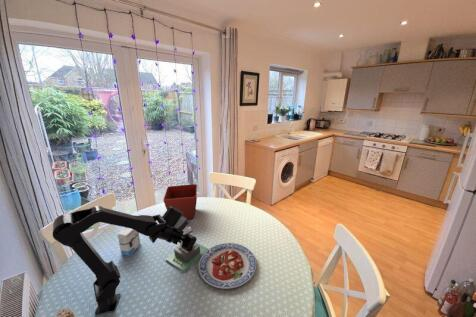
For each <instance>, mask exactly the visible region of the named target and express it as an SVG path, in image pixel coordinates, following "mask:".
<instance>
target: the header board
mask: <svg viewBox="0 0 476 317" xmlns="http://www.w3.org/2000/svg"><path fill="white" fill-rule="evenodd" d="M208 249H209V248H207V247H205V246H203V245H202V244H200V243H199V242H197V241H196V242H195V244H194V249H192V251H191V252H189V253H187V254H186V253H184V252H182V251H181V250H180V245H178V246H177V247H176V248H174V250H173V253H172V254H171V255H169V256H168V257H167V258H166V259H165V261H166V262H167V263H168V264H170V265H171V266H173V267H174V268H176V269H178V270H179V271H180V272H181V273H185V272H186V271H187V270H189V268H191V266H193V265H194V264H195V263H196V262H197V261H198V260H200V259H201V257H202V255H203V254H204V253H205V252H206V251H207V250H208Z"/></svg>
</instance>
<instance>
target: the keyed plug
mask: <svg viewBox="0 0 476 317" xmlns="http://www.w3.org/2000/svg"><path fill="white" fill-rule="evenodd" d="M182 231H184V233H183V235H185V234H186V235H187V233H188V234H190V235H192V236H194V232H193V229H192V227H191V226H186V227H185V228H184V230H182ZM182 238H183V237H182ZM181 245H182V242H181V243H179V246H180V250H181V251H182V252H184V253H186V254H187V253H189V252H188V251H186V250H184V249H182V247H181ZM192 249H194V246H193V248H192Z"/></svg>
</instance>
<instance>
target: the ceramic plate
mask: <svg viewBox="0 0 476 317" xmlns="http://www.w3.org/2000/svg"><path fill="white" fill-rule="evenodd" d="M256 268H257V260H256V257H255V255H254V253H253V252H252V251H251V250H250V249H249V248H248V247H246V246H244V245H243V244H239V243H234V242H224V243H219V244H216V245H213V246H212V247H209V248H208V250H207V251H206V252H205V253H204V254H203V255H202V257H200V258H199V262H198V272H199V275H200V277H201V279H203V281H204V282H205V283H207V284H208V285H210V286H211V287H214V288H218V289H224V290H225V289H234V288H238V287H240V286H243V285H245V284H246V283H248V281H249V280H251V279H252V277H253V276H254V274H255V273H256Z"/></svg>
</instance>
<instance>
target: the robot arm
mask: <svg viewBox="0 0 476 317" xmlns="http://www.w3.org/2000/svg"><path fill="white" fill-rule="evenodd" d="M182 215H183V213H182V212H181V211H180V210H178V209H177V208H175V207H171V206H169V208H168V209H166V211H165V212H164V214H163V215H161V214H156V215H155V214H154V215H145V214H140V215H133V214H130V213H125V212H122V211H117V210H115V209H114V210H113V209H110V208H105V207H103V206H101V205H95V206H92V207H89V208H85V209H79V210H76V211H73V212H71V213H65V214H62V215H59V216H57V217H56V218H55V219H54V221H53V223H52V238H53V239H54V240H55V241H57V242H58V243H60V244H61V245H63V246H66V247H68V248H71V250H72V251H74V253H75V254H76V255H77V256H78V257H79V259H81V261H82V262H83V263H84V264H85V265H86V266H87V268H89V269H90V271H91V272H92V273H93V274H94V275H95V278H96V279H95V281H94V282H93V284H92V286H93V291H94V298H95V302H96V304H97V307H96V309H95V311H94V314H95V315H98V314H104V313H109V312H114V311H115V310H116V308H117V306H118V303H119V300H120V298H121V293H116V292H117V288H118V286H119V285H120V283H121V279H120V278H122V277H121V274H120V271H119V268H118V265H117V264H114V261H113V260H111V261H109V262H106V261H105V260H104V259H103V258H102V256H101V255H100V254H99V253H98V251H97V249H96V248H94V246H93V245H92V244H91V243H90V242H89V240H88V239H87V238H86V236H85V235H84V233H83V232H85V231H87V230H88V229H91V227H92V226H94V225H96V224H98V223H103V224H108V225H113V226H117V227H122V228H125V227H126V228H131V229H134V230H135V231H137V232H139V235H140V234H141V235H142V236H145V237H148V239H149V240H150V241H151V242H152V244H155V242H156V241H157V240H158V239H159V240H163V241H166V243H167V242H168V243H169V244H170V243H172V244H174V245H178V243H179V244H180V243H181V242H182V245H181V247H182V249H184V250H186V251H188V252H191V251H192V248H193V246H194V244H195V242H196V243H197V237H196V236H195V235H193V236H192V235H190V234H188V233H187V235H186V234H185V235H183V233H184V231H182V230H184V228H185V227H188V225H189V223H190V222H189V219H186V218H185V217H183V216H182ZM182 237H183V238H182Z"/></svg>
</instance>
